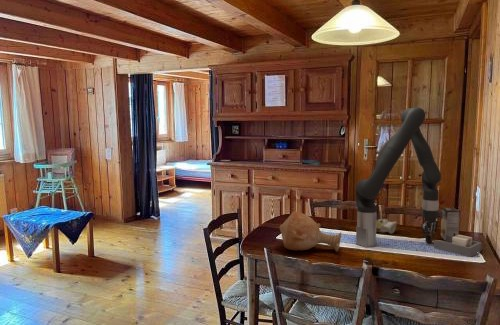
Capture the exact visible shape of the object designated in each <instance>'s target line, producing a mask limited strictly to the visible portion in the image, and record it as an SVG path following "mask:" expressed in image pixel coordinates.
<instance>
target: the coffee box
mask: <svg viewBox="0 0 500 325" xmlns="http://www.w3.org/2000/svg"><path fill="white" fill-rule="evenodd" d="M440 218H441V219H440V220H441V221H440V236H441V238H442V239H443V240H444V242H445V241H446V235H449V236H457V235H460V234H459V233H460V232H459V231H460V230H459V229H460V211H459V210H458V209H457V208H455V207H446V206H445V207H441V217H440Z"/></svg>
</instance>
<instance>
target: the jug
mask: <svg viewBox="0 0 500 325" xmlns="http://www.w3.org/2000/svg"><path fill="white" fill-rule="evenodd" d="M321 227H322V226H321V223H319V222H318V223H317V222H316V221H315V220H314V219H313V218H311V216H309V215H307V214H305V213H302V212H300V211H297V210H296V211H292V212H291V213H290V215H289V216H288V217H287V218H286V219H285V221H284V222H283V223H282V224H280V225H279V230H280V234H281V239H282V242H283V247H284V248H285V249H288V250H291V251H298V250H299V251H307V250H310V249H312V248H314V247H315V246H317V245H319V244H325V245H328V246H330V247H331V248H333V250H334V251H335V252H336V253H338V251H339V248H340V245H341V238H342V232H339V233H338V234H326V233H324V232H321V230H320V228H321Z"/></svg>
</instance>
